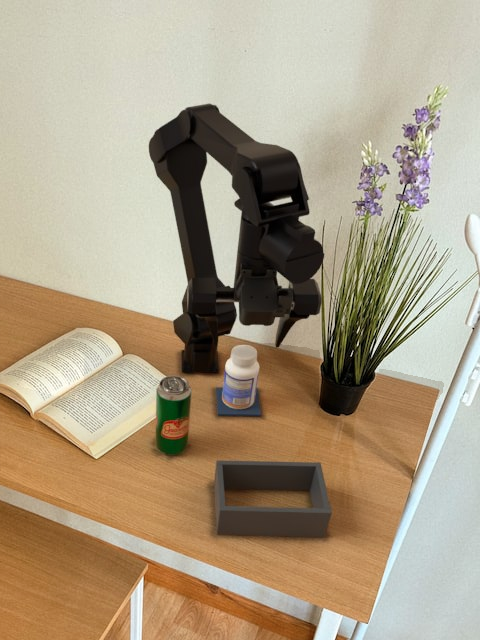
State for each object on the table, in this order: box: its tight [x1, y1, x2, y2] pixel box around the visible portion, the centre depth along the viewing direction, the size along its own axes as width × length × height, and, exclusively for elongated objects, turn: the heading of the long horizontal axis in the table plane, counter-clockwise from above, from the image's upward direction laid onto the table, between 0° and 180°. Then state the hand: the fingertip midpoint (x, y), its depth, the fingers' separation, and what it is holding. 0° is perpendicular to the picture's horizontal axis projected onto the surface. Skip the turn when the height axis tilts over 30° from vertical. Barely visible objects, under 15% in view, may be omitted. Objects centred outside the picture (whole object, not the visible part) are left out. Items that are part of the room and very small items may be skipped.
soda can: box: [154, 375, 192, 456], centre depth 104 cm, size 5×5×12 cm
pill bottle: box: [222, 344, 260, 409], centre depth 111 cm, size 5×5×10 cm
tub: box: [213, 459, 332, 538], centre depth 96 cm, size 10×15×5 cm, turn 87°
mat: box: [215, 387, 262, 418], centre depth 115 cm, size 7×7×1 cm
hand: (246, 345), depth 106 cm, fingers open, 9 cm apart
